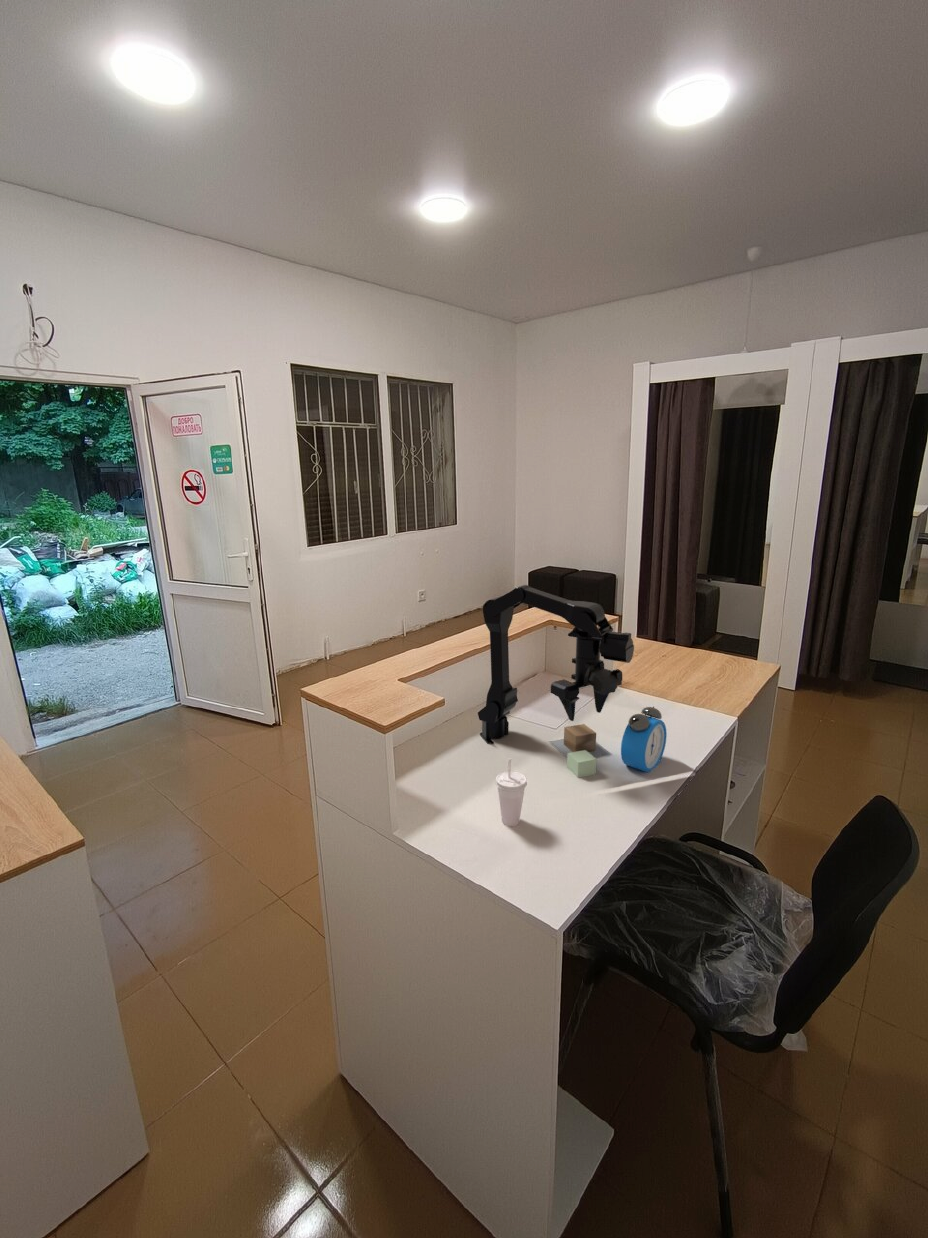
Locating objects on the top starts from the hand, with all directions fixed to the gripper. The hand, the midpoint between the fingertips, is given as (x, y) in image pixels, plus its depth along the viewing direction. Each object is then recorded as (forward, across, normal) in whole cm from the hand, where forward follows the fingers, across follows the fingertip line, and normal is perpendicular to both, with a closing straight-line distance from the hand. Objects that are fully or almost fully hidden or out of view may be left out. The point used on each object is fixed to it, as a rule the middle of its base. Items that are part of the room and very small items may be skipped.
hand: (585, 716), depth 139 cm
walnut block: (+12, +4, +6) cm, 14 cm away
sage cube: (+13, -4, -4) cm, 14 cm away
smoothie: (+13, -31, -10) cm, 35 cm away
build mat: (+13, +4, +6) cm, 14 cm away
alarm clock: (+13, +11, -10) cm, 19 cm away
